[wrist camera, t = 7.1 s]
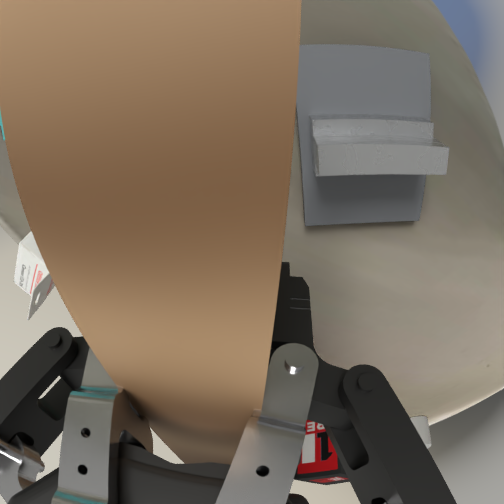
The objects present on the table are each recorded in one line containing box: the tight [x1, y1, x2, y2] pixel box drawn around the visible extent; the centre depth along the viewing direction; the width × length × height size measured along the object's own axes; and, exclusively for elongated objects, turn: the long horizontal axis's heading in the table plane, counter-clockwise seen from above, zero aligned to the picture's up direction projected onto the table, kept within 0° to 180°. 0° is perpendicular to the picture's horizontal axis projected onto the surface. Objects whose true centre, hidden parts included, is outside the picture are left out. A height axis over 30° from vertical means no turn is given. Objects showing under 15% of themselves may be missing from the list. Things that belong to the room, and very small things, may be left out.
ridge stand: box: [296, 44, 449, 226], centre depth 22 cm, size 18×13×7 cm
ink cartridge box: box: [14, 231, 55, 320], centre depth 28 cm, size 9×5×15 cm, turn 138°
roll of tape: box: [410, 416, 431, 448], centre depth 68 cm, size 16×15×11 cm
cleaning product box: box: [294, 420, 350, 485], centre depth 49 cm, size 16×9×20 cm, turn 34°
